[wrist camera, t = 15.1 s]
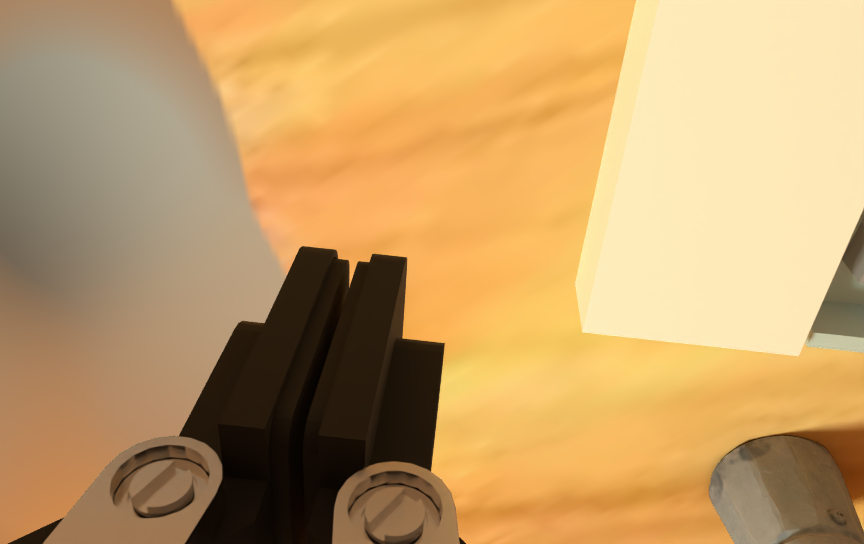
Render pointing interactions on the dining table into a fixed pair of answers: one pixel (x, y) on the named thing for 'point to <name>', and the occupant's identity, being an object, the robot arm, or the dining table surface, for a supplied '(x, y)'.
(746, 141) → the board
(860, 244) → the slate tile
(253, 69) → the dining table surface
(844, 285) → the box
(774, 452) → the moka pot
